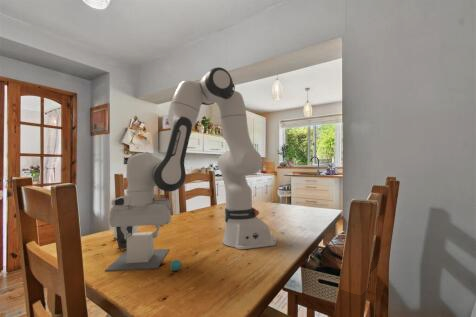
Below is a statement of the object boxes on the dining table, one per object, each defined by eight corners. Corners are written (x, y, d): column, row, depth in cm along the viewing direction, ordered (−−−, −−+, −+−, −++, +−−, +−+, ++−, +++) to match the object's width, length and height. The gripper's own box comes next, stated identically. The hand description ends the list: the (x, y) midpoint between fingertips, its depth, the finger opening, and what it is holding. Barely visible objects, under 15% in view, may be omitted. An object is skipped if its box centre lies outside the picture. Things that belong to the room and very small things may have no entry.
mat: (168, 249, 88) (168, 248, 88) (157, 268, 72) (157, 267, 72) (126, 251, 87) (126, 250, 87) (105, 271, 71) (105, 270, 71)
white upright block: (153, 254, 83) (153, 232, 83) (147, 262, 76) (147, 237, 76) (134, 255, 82) (134, 232, 83) (126, 263, 76) (126, 238, 76)
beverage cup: (126, 250, 88) (126, 198, 89) (110, 249, 90) (110, 198, 90) (138, 244, 95) (138, 196, 96) (122, 243, 97) (122, 196, 97)
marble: (181, 268, 72) (181, 257, 72) (180, 272, 69) (180, 262, 69) (171, 268, 72) (171, 258, 72) (169, 273, 69) (169, 262, 69)
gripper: (172, 196, 84) (173, 233, 84) (115, 198, 82) (115, 236, 82) (168, 198, 78) (169, 239, 77) (106, 201, 76) (107, 242, 76)
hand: (141, 238), depth 80 cm, fingers open, 8 cm apart
